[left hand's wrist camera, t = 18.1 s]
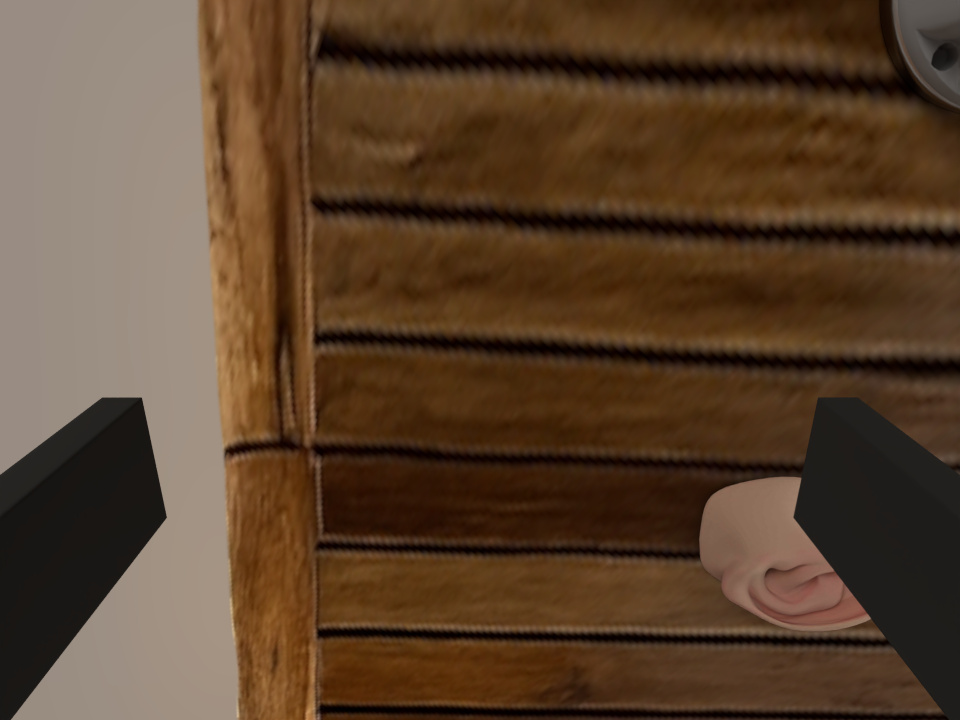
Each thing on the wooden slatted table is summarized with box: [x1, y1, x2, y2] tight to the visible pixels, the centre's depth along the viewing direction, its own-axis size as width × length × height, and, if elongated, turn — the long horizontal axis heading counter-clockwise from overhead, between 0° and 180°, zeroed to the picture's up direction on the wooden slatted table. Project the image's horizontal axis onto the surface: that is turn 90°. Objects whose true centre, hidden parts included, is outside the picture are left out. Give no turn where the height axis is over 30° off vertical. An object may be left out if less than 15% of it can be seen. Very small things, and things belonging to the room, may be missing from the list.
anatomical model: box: [699, 477, 871, 631], centre depth 47 cm, size 13×4×12 cm
